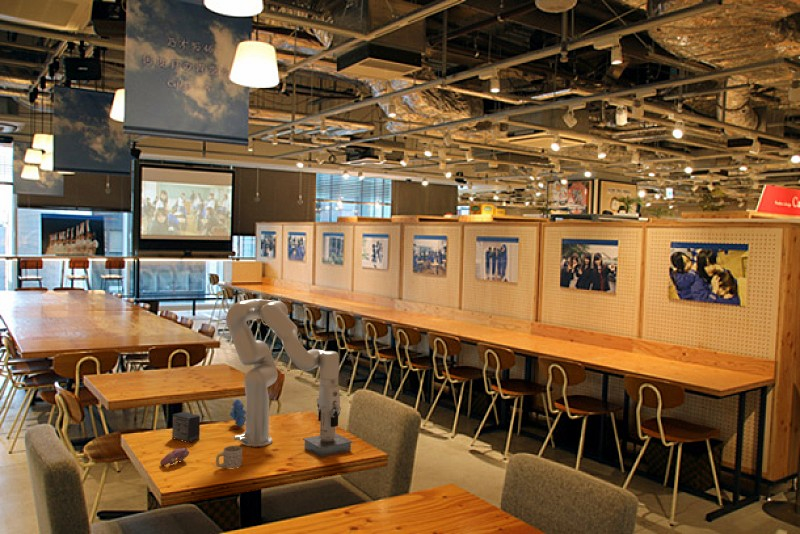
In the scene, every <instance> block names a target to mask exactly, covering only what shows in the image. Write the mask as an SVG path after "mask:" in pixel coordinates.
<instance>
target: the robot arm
mask: <svg viewBox="0 0 800 534" xmlns="http://www.w3.org/2000/svg"><path fill="white" fill-rule="evenodd" d="M288 313H289V309H288V307H287V305H286V303H284V302H283V301H280V300H269V299H258V298H253V299H252V298H251V299H246V300H241V301H237V302H235V303H234V304H233V305H231V307H230V308H229V309H228V311H227V313H226V317H225V318H226V319H225V322H226V327H227V329H228V332H229V334H230V336H231V339H232V341H233V342H232V343H233V345H234V348H235V350H236V353H237V357H238V359H239V361H240V363H241V364H242V365H243V366H246V367H249V366H251V367H252V366H253V368H251V369H250V370H249V371H247V372H246V373H245V375H244V379H243V380H244V382H243V384H244V391H245V411H246V414H245V418H246V421H245V431H243V432H242V433H241V434H240V435H234V436H233V440H234V442H236V441H239V442H241V444H242V445H244V446H245V445H246V447H251V446H252V448H253V447H254V448H255V447H258V446H259V447H264V446H269V445H271V444H272V443H273V438H272V437H271V436H270V435H269V433H270V430H269V429H270V425H269V424H270V396H269V391H268V387H270V386H273V385H274V384H275V383H276V381H277V379H278V375H279V373H278V369H277V365H276V363H275V361H274V360H275V359H274V358H273V355H272V352H271V349H270V348H269V346H268V344H267V343H266V342H265V341H263V340H259V339H255V336H254V334H253V330H251V329H252V328H251V327H250V326H249V325H248V323H247V322H248V321H251V320H256V319H258V320H259V319H260V320H262V321H264V323H265V324H266V325H267V327H269V329H271V331H272V332H273V333H274V334H275V335H276V336H277V337H278V339H279V340H280V342H281V343H282V346H283V349H284V351H285V353H286V355H287V356H288V358H289V359H290V360H291V362H293V363H294V365H295V366H296V367H297V368H299V369H300V370H301V371H305V372H309V371H311V370H314V369H316V368H319V389H318V398H316V403H317V405H316V406H317V411H318V416H317V417H318V420H317V421H318V422H321V406H324V407H325V408H326V410H327V411H329V412H330V413H331V415H332V417H331V427H335V428H336V427H338V426H339V417H340V414H341V410H342V407H341V397H340V396H341V395H340V387H339V368H340V367H339V364H340V363H339V362H340V361H339V360H340V358H339V353H338V352H337V351H335V350H334V351H333V350H322V349H316V348H312V349H309V350H307V349H306V348H305V347H304V346H303V345H302V343H301V342H300V340H299V337H298V326H297V325H296V324H295V323H294V322H293V321H292V319H290V317H289V316H288V315H289V314H288ZM334 411H335V413H333V412H334Z"/></svg>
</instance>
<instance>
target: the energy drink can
mask: <svg viewBox="0 0 800 534" xmlns="http://www.w3.org/2000/svg"><path fill="white" fill-rule="evenodd" d="M333 413H335V411H334V412H333ZM331 417H332V415H331V413H330V412H329V411H327V410H326V408H325V407H324V406H321V421H320V424H319V427H320V428H319V434H320V435H319V436H320V438H321V440H322V441H327V442H328V441H333V439H334V438H335V433H336V427H331Z"/></svg>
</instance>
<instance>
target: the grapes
mask: <svg viewBox="0 0 800 534" xmlns="http://www.w3.org/2000/svg"><path fill="white" fill-rule="evenodd" d="M232 406H233V407H232V409H231V411H230V412H229V416H230V417H231V418H232V419H233V420H234V421H235V422H234V424H235V425H236V427H240V428H243V427H244V425H245V423H246V409H244V407H245V404H244V403H242V401H241V400H240V399H239V398H238V399H236V400H234V401H233V402H232Z"/></svg>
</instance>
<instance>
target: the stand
mask: <svg viewBox="0 0 800 534" xmlns="http://www.w3.org/2000/svg"><path fill="white" fill-rule="evenodd" d="M302 440H303V441H304V450H306V451H309V452H310V453H312V454H314V455H315V456H318V457H319V458H325V457H329V456H334V455H338V454H337V453H339V454H342V453H341V452H344V453H347V452H346V451H348V452H351V451H350V450H351V448H352V446H351V445H352V443H353V441H352V440H350V439H349V438H346V437H344V436H342V435H341V434H339V433H336V432H335V438H334V439H333V441H328V442H327V441H322V440H321V438H320V435H315V436H310V437H304V438H303V439H302ZM333 454H334V455H333Z"/></svg>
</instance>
